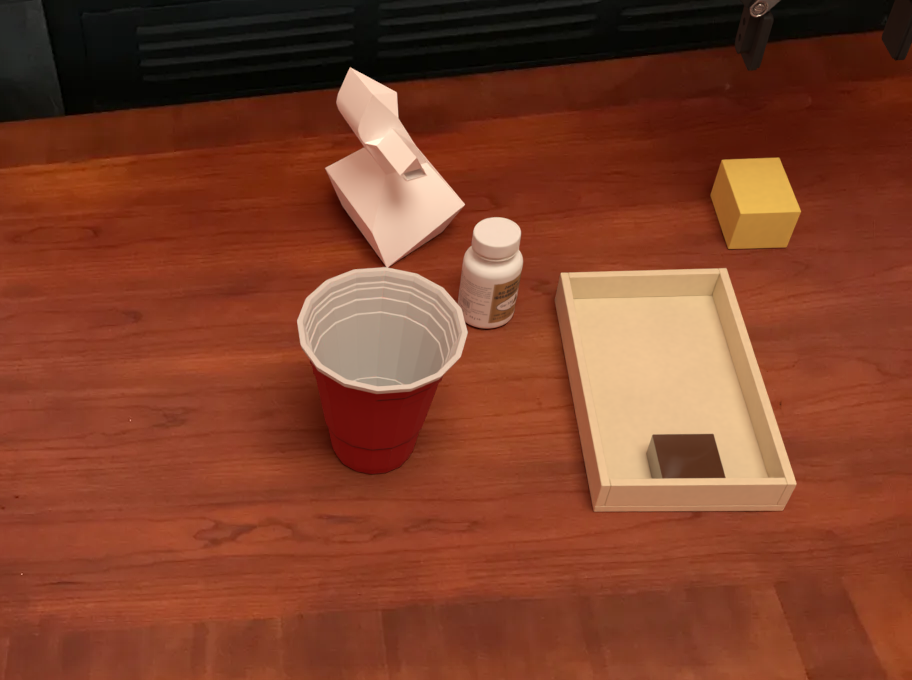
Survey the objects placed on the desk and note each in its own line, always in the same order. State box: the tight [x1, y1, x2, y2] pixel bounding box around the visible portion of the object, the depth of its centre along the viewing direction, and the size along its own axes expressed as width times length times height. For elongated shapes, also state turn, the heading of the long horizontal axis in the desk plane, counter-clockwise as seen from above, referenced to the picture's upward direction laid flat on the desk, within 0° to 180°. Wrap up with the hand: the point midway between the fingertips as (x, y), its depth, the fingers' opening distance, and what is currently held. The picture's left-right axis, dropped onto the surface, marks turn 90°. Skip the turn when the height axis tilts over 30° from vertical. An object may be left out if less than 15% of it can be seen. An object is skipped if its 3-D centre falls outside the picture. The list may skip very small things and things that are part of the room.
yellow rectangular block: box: [710, 157, 802, 250], centre depth 92 cm, size 4×7×4 cm, turn 176°
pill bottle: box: [457, 216, 524, 329], centre depth 87 cm, size 4×4×8 cm
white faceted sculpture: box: [324, 67, 466, 268], centre depth 92 cm, size 8×14×14 cm, turn 19°
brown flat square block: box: [646, 434, 726, 479], centre depth 77 cm, size 4×4×2 cm
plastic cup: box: [296, 266, 469, 475], centre depth 78 cm, size 11×11×12 cm
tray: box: [554, 267, 797, 513], centre depth 82 cm, size 12×21×3 cm, turn 176°
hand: (819, 55), depth 81 cm, fingers open, 9 cm apart
